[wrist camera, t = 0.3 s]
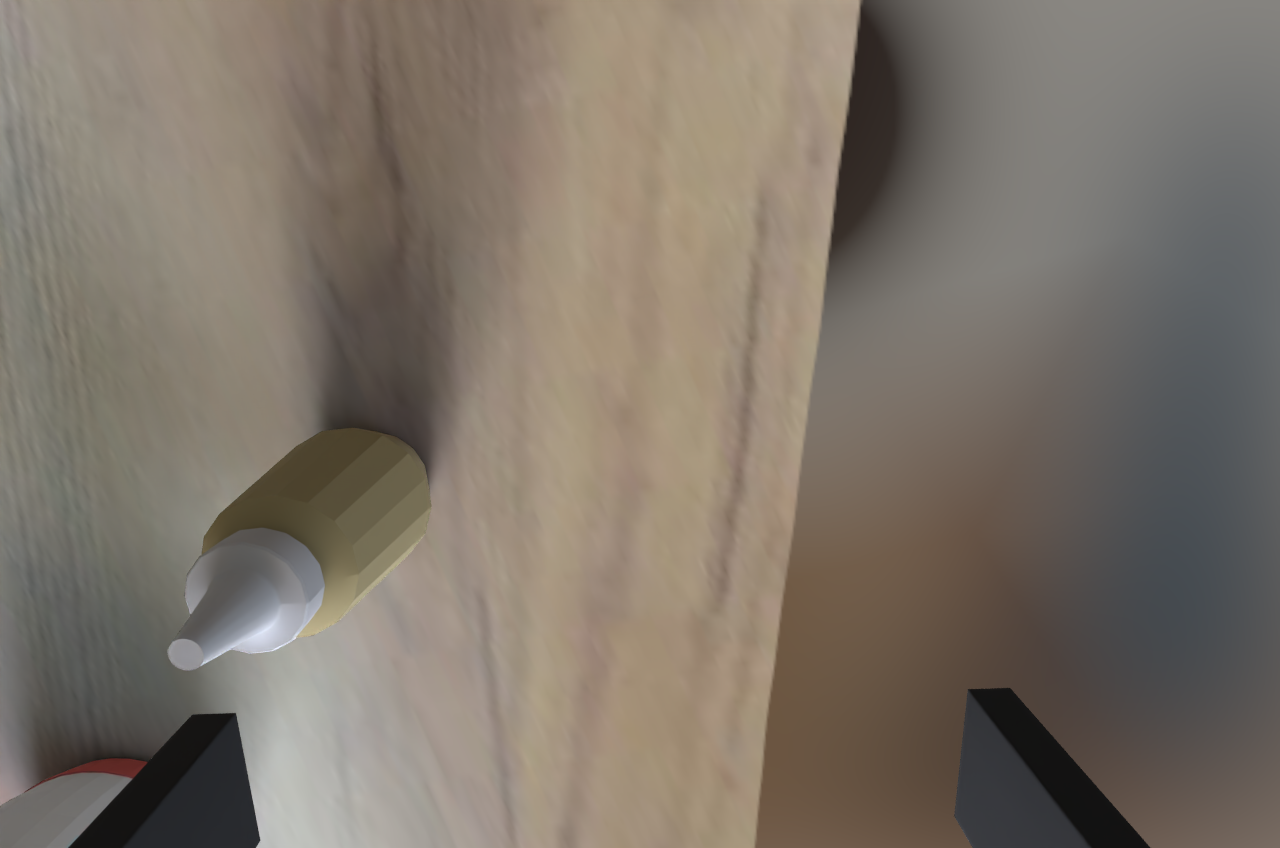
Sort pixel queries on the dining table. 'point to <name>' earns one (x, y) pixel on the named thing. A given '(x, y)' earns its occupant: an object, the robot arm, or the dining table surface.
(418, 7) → the dining table surface
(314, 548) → the squeeze bottle
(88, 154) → the dining table surface
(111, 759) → the citrus juicer
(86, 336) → the dining table surface
